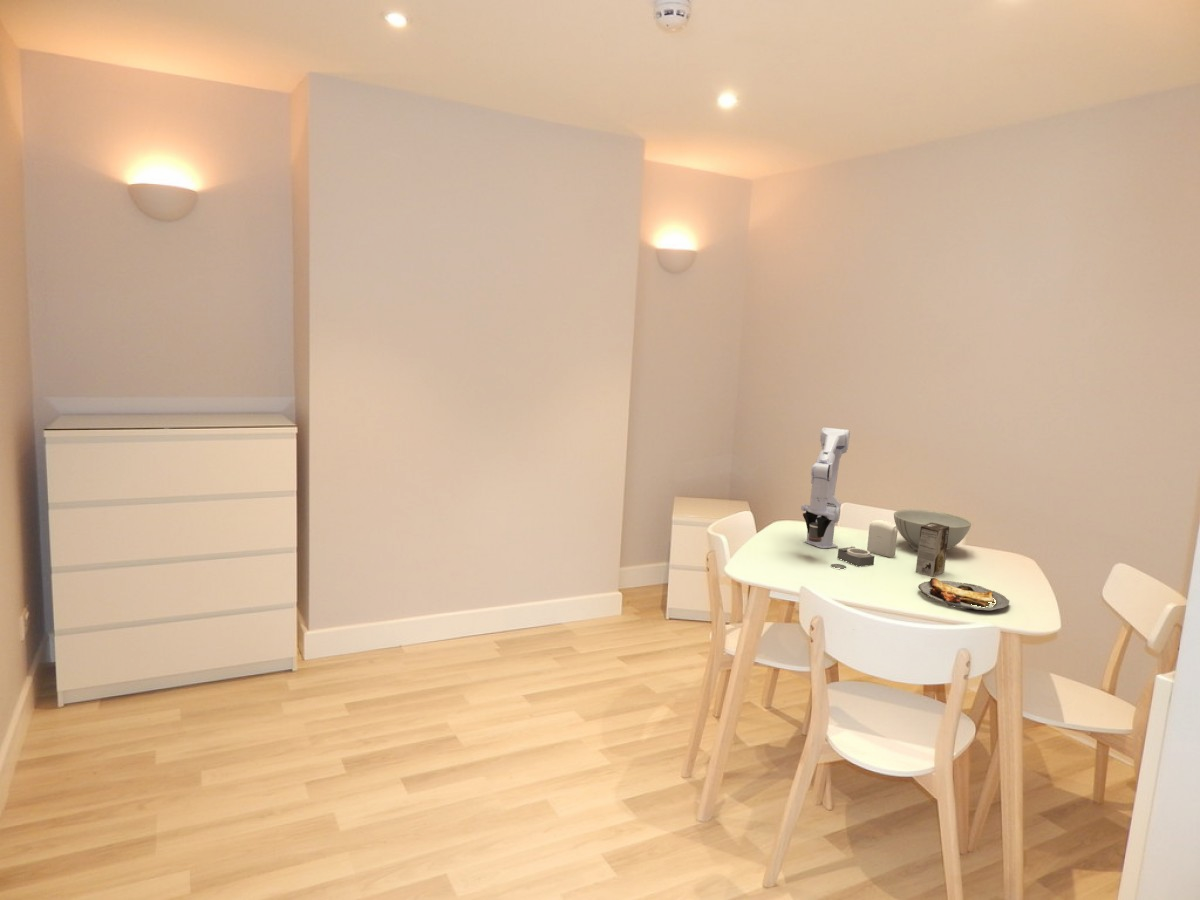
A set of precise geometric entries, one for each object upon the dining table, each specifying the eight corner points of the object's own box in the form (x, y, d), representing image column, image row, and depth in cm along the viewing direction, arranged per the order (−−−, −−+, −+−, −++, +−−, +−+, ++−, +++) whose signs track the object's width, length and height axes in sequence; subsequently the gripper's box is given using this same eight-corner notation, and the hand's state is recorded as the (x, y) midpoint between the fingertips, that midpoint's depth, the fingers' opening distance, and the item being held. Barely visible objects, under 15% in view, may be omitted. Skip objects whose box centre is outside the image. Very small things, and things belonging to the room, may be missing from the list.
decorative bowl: (878, 546, 291) (882, 515, 289) (907, 535, 310) (910, 506, 309) (951, 564, 273) (956, 531, 271) (977, 551, 292) (981, 520, 290)
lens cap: (827, 566, 263) (827, 564, 263) (838, 565, 265) (838, 563, 265) (838, 571, 259) (838, 568, 259) (849, 569, 261) (849, 567, 261)
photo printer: (864, 551, 284) (868, 518, 282) (871, 549, 287) (874, 517, 285) (890, 558, 276) (894, 524, 274) (896, 556, 279) (900, 523, 277)
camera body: (836, 558, 272) (837, 547, 272) (852, 556, 276) (853, 545, 275) (858, 566, 264) (859, 554, 263) (874, 564, 267) (875, 552, 267)
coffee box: (925, 567, 267) (931, 522, 265) (944, 572, 263) (950, 526, 260) (914, 572, 261) (920, 525, 258) (933, 577, 256) (939, 530, 254)
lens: (805, 539, 272) (807, 522, 271) (815, 538, 275) (816, 521, 274) (814, 542, 269) (816, 525, 268) (824, 541, 271) (825, 524, 270)
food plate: (910, 599, 232) (912, 588, 232) (926, 581, 252) (927, 571, 251) (1002, 622, 219) (1004, 610, 218) (1011, 601, 238) (1013, 590, 238)
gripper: (796, 493, 274) (792, 530, 276) (825, 502, 261) (822, 541, 263) (811, 492, 277) (807, 529, 279) (841, 501, 264) (837, 539, 266)
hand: (815, 535), depth 271 cm, fingers closed on lens, 4 cm apart
